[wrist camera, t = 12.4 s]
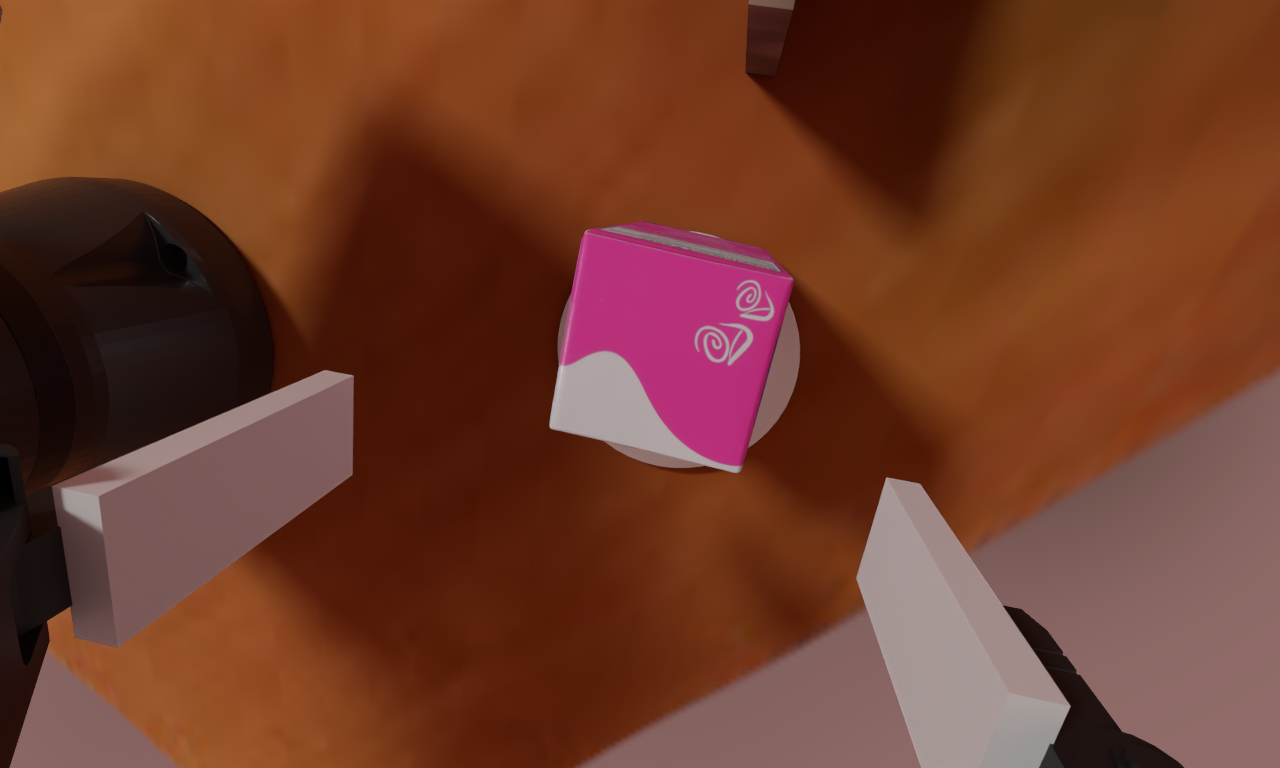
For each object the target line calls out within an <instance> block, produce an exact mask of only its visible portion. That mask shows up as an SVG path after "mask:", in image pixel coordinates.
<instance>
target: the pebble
mask: <svg viewBox="0 0 1280 768" xmlns="http://www.w3.org/2000/svg"><path fill="white" fill-rule="evenodd" d="M685 231H687V230H685ZM690 232H694V233H699V234H703V235H708V236H712V237H716V238H720V237H717V236H714V235H711V234H706V233H702V232H698V231H690ZM720 239H722V238H720ZM571 293H572V292H571ZM570 298H571V294H570V297H569V299H568V301H567V303H566V305H565V308H564V311H563V314H562V318H561V322H560V327H559V333H558V361H559V363H560V356H561V350H562V345H563V339H564V333H565V327H566V321H567V314H568V308H569V303H570ZM799 364H800V341H799V332H798V327H797V323H796V319H795V316H794V313H793V310H792V308H791V305H790V303H789V302H788V306H787V309H786V313H785V317H784V320H783V324H782V328H781V331H780V335H779V338H778V342H777V346H776V349H775V353H774V356H773V360H772V364H771V367H770V371H769V374H768V378H767V382H766V386H765V389H764V393H763V396H762V400H761V403H760V407H759V410H758V414H757V417H756V421H755V425H754V429H753V432H752V436H751V439H750V443H749V446H748V448H749V447H750V446H752V445H753V444H755V443H756V442H757V441H758V440H759V439H760V438H762V437H763V436H764V435H765V434H766V433H767V432H768V431H769V430H770V429H771V427H772V426H773V425H774V424H775V423H776V422H777V420H778V419H779V417H780V416H781V414H782V413H783V411H784V410H785V408H786V406H787V404H788V402H789V400H790V398H791V395H792V393H793V390H794V387H795V384H796V380H797V376H798V370H799ZM604 442H605V441H604ZM606 443H607V444H608V445H610V446H611V447H613V448H614V449H616V450H617V451H619V452H621V453H623V454H625V455H627V456H629V457H631V458H634V459H636V460H639V461H641V462H645V463H648V464H652V465H656V466H662V467H669V468H692V467H701V466H705V465H701V464H697V463H693V462H689V461H685V460H681V459H677V458H673V457H669V456H665V455H661V454H657V453H653V452H648V451H644V450H640V449H635V448H631V447H627V446H623V445H618V444H614V443H610V442H606Z"/></svg>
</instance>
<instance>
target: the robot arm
mask: <svg viewBox="0 0 1280 768" xmlns="http://www.w3.org/2000/svg"><path fill="white" fill-rule="evenodd" d="M2 11H3V9H2V8H1V6H0V22H1V15H2ZM272 371H273V346H272V337H271V331H270V326H269V321H268V318H267V314H266V310H265V307H264V304H263V301H262V299H261V296H260V294H259V291H258V289H257V287H256V285H255V283H254V281H253V279H252V277H251V275H250V273H249V271H248V270H247V268H246V266H245V265H244V263H243V262H242V260H241V258H240V257H239V256H238V254H237V253H236V251H235V250H234V249H233V247H232V246H231V245H230V244H229V242H228V241H227V240H226V239H225V238H224V236H223V235H222V234H221V233H220V232H219V231H218V230H217V229H216V228H215V227H214V226H213V225H212V224H211V223H210V222H209V221H208V220H206V219H205V218H204V217H203V216H202V215H201V214H199V213H198V212H197V211H195V210H194V209H193V208H191V207H190V206H189V205H187V204H186V203H184V202H182V201H181V200H179V199H178V198H176V197H174V196H172V195H170V194H168V193H166V192H164V191H162V190H160V189H157V188H155V187H152V186H149V185H146V184H143V183H140V182H135V181H130V180H124V179H111V178H86V177H61V178H52V179H46V180H41V181H37V182H33V183H29V184H26V185H23V186H20V187H16V188H13V189H10V190H7V191H3V192H0V768H9V767H10V764H11V761H12V758H13V754H14V751H15V748H16V745H17V742H18V739H19V736H20V733H21V729H22V726H23V723H24V720H25V717H26V714H27V710H28V707H29V704H30V701H31V697H32V695H33V692H34V688H35V685H36V682H37V679H38V676H39V673H40V669H41V666H42V663H43V660H44V657H45V654H46V650H47V647H48V644H49V641H50V640H49V631H48V625H47V621H48V620H49V619H51V618H52V617H54V616H56V615H57V614H59V613H60V612H62V611H64V610H65V609H67V608H68V607H70V608H71V615H72V621H73V628H74V634H75V638H79V639H83V640H88V641H92V642H96V643H100V644H104V645H109V646H113V647H117V648H118V647H119V646H121V645H122V644H124V643H125V642H126V641H128V640H129V639H130V638H132V637H133V636H134V635H136V634H137V633H138V632H140V631H141V630H143V629H144V628H145V627H147V626H148V625H149V624H151V623H152V622H153V621H155V620H156V619H157V618H159V617H160V616H162V615H163V614H164V613H166V612H167V611H168V610H170V609H171V608H172V607H174V606H175V605H176V604H178V603H179V602H181V601H182V600H183V599H185V598H186V597H187V596H189V595H190V594H191V593H193V592H194V591H195V590H197V589H198V588H200V587H201V586H202V585H204V584H205V583H206V582H208V581H209V580H210V579H212V578H213V577H215V576H216V575H217V574H219V573H220V572H221V571H223V570H224V569H225V568H227V567H228V566H229V565H231V564H232V563H234V562H235V561H236V560H238V559H239V558H240V557H242V556H243V555H244V554H246V553H247V552H248V551H250V550H251V549H253V548H254V547H255V546H257V545H258V544H259V543H261V542H262V541H263V540H265V539H266V538H267V537H269V536H270V535H272V534H273V533H274V532H276V531H277V530H278V529H280V528H281V527H282V526H284V525H285V524H286V523H288V522H289V521H291V520H292V519H293V518H295V517H296V516H297V515H299V514H300V513H301V512H303V511H304V510H305V509H307V508H308V507H310V506H311V505H312V504H314V503H315V502H316V501H318V500H319V499H320V498H322V497H323V496H324V495H326V494H327V493H329V492H330V491H331V490H333V489H334V488H335V487H337V486H338V485H339V484H341V483H342V482H344V481H345V480H346V479H348V478H349V477H350V476H352V475H353V395H354V376H353V375H348V374H343V373H338V372H333V371H327V370H324V371H322V372H319V373H317V374H314V375H312V376H310V377H307V378H305V379H303V380H300V381H298V382H296V383H293V384H291V385H289V386H286V387H284V388H282V389H279V390H277V391H274V392H272V393H270V394H268V393H269V389H270V385H271V379H272ZM856 579H857V581H858V584H859V587H860V590H861V593H862V596H863V599H864V602H865V605H866V608H867V611H868V614H869V616H870V620H871V623H872V625H873V628H874V631H875V634H876V637H877V640H878V643H879V646H880V649H881V652H882V654H883V658H884V661H885V663H886V666H887V669H888V672H889V675H890V678H891V681H892V684H893V687H894V690H895V693H896V696H897V699H898V702H899V705H900V707H901V710H902V714H903V717H904V719H905V722H906V725H907V728H908V731H909V734H910V737H911V740H912V743H913V746H914V749H915V752H916V755H917V758H918V761H919V763H920V766H921V768H1184V767H1183V766H1182V765H1181V764H1180V763H1179V762H1178V761H1176V760H1175V759H1173V758H1172V757H1170V756H1168V755H1167V754H1166V753H1164V752H1163V751H1161V750H1160V749H1159V748H1157V747H1155V746H1154V745H1152V744H1150V743H1148V742H1146V741H1143V740H1142V739H1139V738H1137V737H1135V736H1133V735H1131V734H1127V733H1124V732H1122V731H1121V730H1120V728H1119V727H1118V726H1117V724H1116V723H1115V722H1114V720H1113V719H1112V718H1111V716H1110V715H1109V713H1108V712H1107V711H1106V709H1105V708H1104V707H1103V705H1102V704H1101V703H1100V701H1099V700H1098V699H1097V697H1096V696H1095V695H1094V693H1093V692H1092V691H1091V689H1090V688H1089V686H1088V685H1087V684H1086V682H1085V681H1084V680H1083V678H1082V677H1081V676H1080V675H1077V674H1076V669H1075V668H1074V666H1073V665H1072V664H1071V662H1070V661H1069V660H1068V658H1067V657H1066V656H1063V652H1062V650H1061V649H1060V647H1059V646H1058V645H1057V644H1056V642H1055V641H1054V639H1053V638H1052V637H1051V635H1050V634H1049V632H1048V631H1047V630H1046V629H1045V628H1043V627H1042V626H1041V625H1040V624H1039V623H1037V622H1036V621H1035V620H1034V619H1033V618H1031V617H1030V616H1029V615H1028V614H1027V613H1025V612H1024V611H1023V610H1022V609H1018V608H1013V607H1008V606H1003V605H1002V604H1001V603H1000V601H999V600H998V598H997V597H996V595H995V594H994V592H993V591H992V589H991V588H990V586H989V585H988V583H987V582H986V580H985V579H984V578H983V576H982V575H981V573H980V572H979V570H978V569H977V567H976V566H975V564H974V563H973V561H972V560H971V558H970V557H969V555H968V554H967V552H966V551H965V549H964V548H963V546H962V545H961V543H960V542H959V541H958V539H957V538H956V536H955V535H954V533H953V532H952V530H951V529H950V527H949V526H948V524H947V523H946V521H945V520H944V518H943V517H942V515H941V514H940V512H939V511H938V510H937V508H936V507H935V505H934V504H933V502H932V501H931V499H930V498H929V496H928V495H927V493H926V492H925V490H924V489H923V487H922V486H921V484H919V483H914V482H909V481H904V480H898V479H893V478H888V477H886V480H885V484H884V487H883V490H882V494H881V497H880V500H879V504H878V507H877V510H876V514H875V517H874V520H873V524H872V527H871V531H870V534H869V537H868V541H867V544H866V547H865V551H864V554H863V557H862V561H861V564H860V567H859V571H858V574H857V577H856Z"/></svg>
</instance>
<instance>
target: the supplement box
mask: <svg viewBox="0 0 1280 768" xmlns="http://www.w3.org/2000/svg"><path fill="white" fill-rule="evenodd" d="M793 284H794V279H793V278H792V277H791V276H790V274H789V273H788V272H787V271H786V270H785V269H784V268H783V267H782V266H781V265H780V264H779V263H778V262H777V261H776V260H775V259H774V258H773V257H772V256H771V255H770V254H769V253H768V252H767V251H766V250H765V249H763V248H759V247H754V246H750V245H746V244H742V243H737V242H733V241H729V240H725V239H720V238H716V237H712V236H708V235H703V234H699V233H694V232H690V231H685V230H681V229H676V228H672V227H667V226H663V225H658V224H653V223H648V222H637V223H630V224H623V225H616V226H610V227H603V228H593V229H589V230H586V232H585V233H584V235H583V238H582V240H581V245H580V250H579V255H578V260H577V265H576V271H575V276H574V282H573V287H572V293H571V298H570V303H569V308H568V314H567V321H566V327H565V333H564V339H563V345H562V350H561V356H560V363H559V368H558V374H557V381H556V386H555V392H554V398H553V403H552V410H551V416H550V425H549V426H550V428H551V429H553V430H557V431H562V432H566V433H570V434H575V435H579V436H584V437H588V438H592V439H596V440H601V441H605V442H610V443H614V444H618V445H623V446H627V447H631V448H635V449H640V450H644V451H648V452H653V453H657V454H661V455H665V456H669V457H673V458H677V459H681V460H685V461H689V462H693V463H697V464H701V465H705V466H709V467H713V468H716V469H722V470H725V471H729V472H732V473H739V472H740V471H741V469H742V466H743V463H744V460H745V457H746V453H747V450H748V446H749V443H750V439H751V436H752V432H753V429H754V425H755V421H756V417H757V414H758V410H759V407H760V403H761V400H762V396H763V393H764V389H765V386H766V382H767V378H768V374H769V371H770V367H771V364H772V360H773V356H774V353H775V349H776V346H777V342H778V338H779V335H780V331H781V328H782V324H783V320H784V317H785V313H786V309H787V306H788V302H789V299H790V295H791V291H792V288H793Z"/></svg>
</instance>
